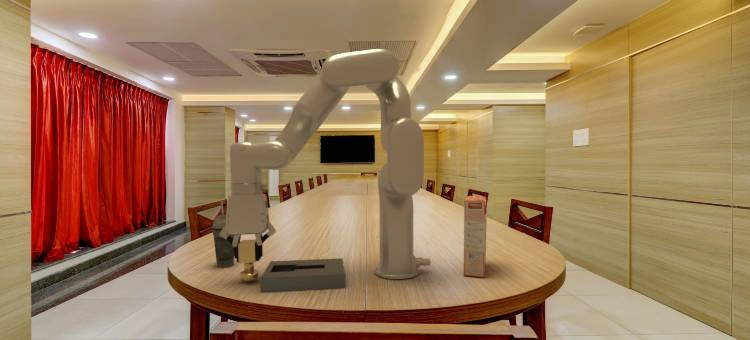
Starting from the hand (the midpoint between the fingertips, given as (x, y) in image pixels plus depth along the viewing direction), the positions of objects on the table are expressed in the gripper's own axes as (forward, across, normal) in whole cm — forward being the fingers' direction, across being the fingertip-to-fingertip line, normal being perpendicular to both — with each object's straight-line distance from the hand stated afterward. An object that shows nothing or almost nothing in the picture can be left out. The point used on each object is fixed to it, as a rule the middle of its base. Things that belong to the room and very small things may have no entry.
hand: (248, 259), depth 87 cm
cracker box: (+7, -62, -1) cm, 63 cm away
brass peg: (+5, 0, 0) cm, 5 cm away
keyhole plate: (+6, -14, +1) cm, 16 cm away
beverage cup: (+6, +11, -16) cm, 20 cm away
